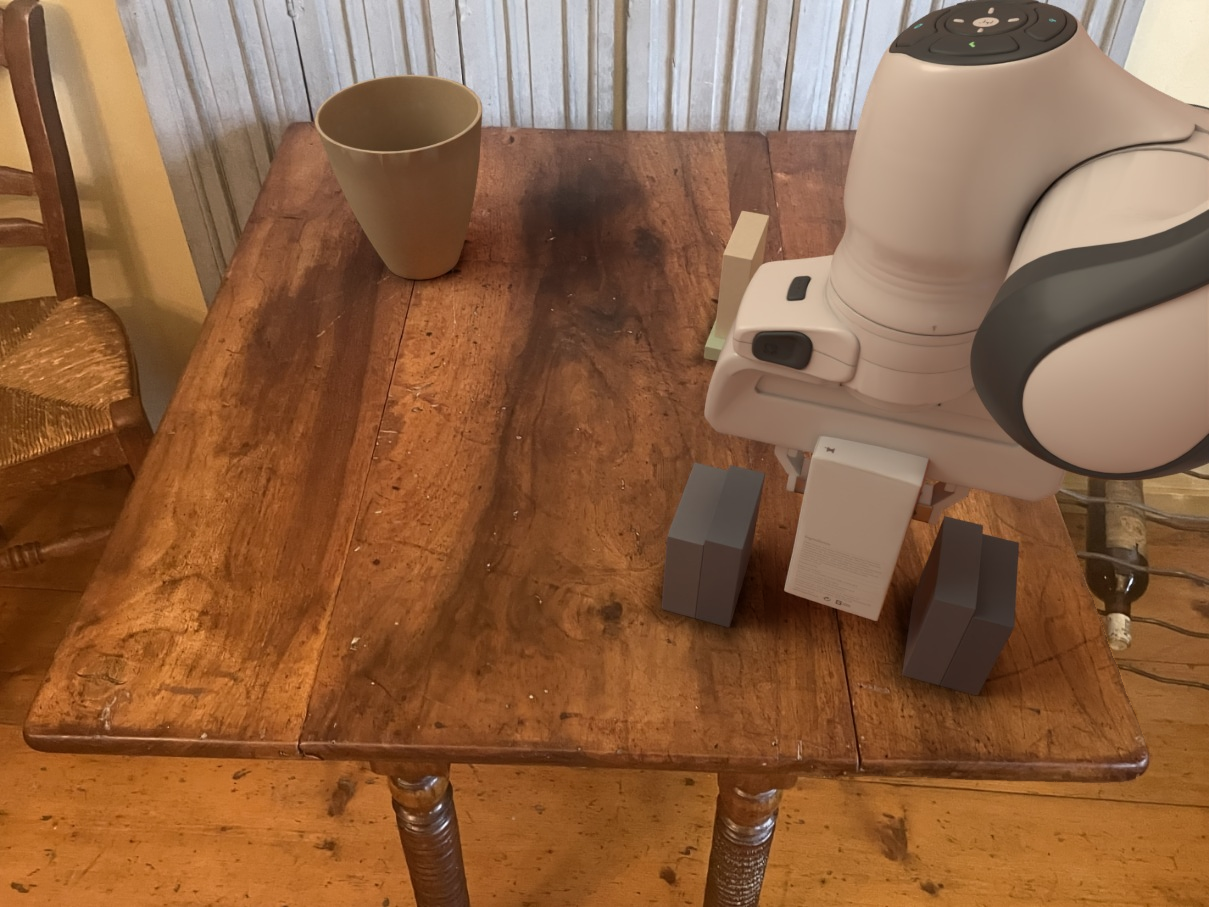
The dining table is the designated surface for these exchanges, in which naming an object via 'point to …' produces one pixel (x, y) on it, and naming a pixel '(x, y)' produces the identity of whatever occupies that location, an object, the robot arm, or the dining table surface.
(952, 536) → the grey bookends
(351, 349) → the dining table surface
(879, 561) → the small box
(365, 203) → the plant pot
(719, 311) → the green book stand
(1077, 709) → the dining table surface
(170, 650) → the dining table surface
